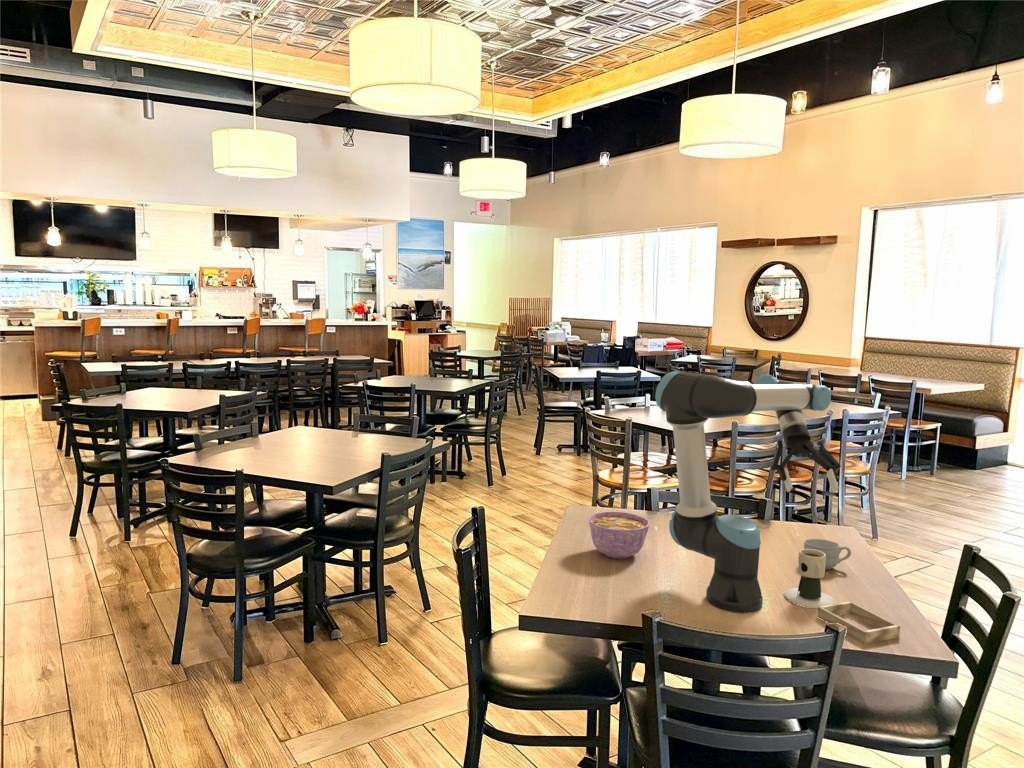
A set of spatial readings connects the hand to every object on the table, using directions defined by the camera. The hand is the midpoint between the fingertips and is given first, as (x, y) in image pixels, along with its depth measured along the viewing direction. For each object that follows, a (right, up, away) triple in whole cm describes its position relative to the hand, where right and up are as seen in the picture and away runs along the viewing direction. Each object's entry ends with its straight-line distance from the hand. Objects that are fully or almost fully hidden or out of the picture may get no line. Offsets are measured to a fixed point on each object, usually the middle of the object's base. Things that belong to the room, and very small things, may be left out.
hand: (812, 490), depth 206 cm
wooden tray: (+2, -33, -22) cm, 39 cm away
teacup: (+13, -28, +21) cm, 37 cm away
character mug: (-3, -30, -5) cm, 30 cm away
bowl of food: (-53, -26, +27) cm, 65 cm away
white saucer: (-3, -30, -5) cm, 31 cm away
